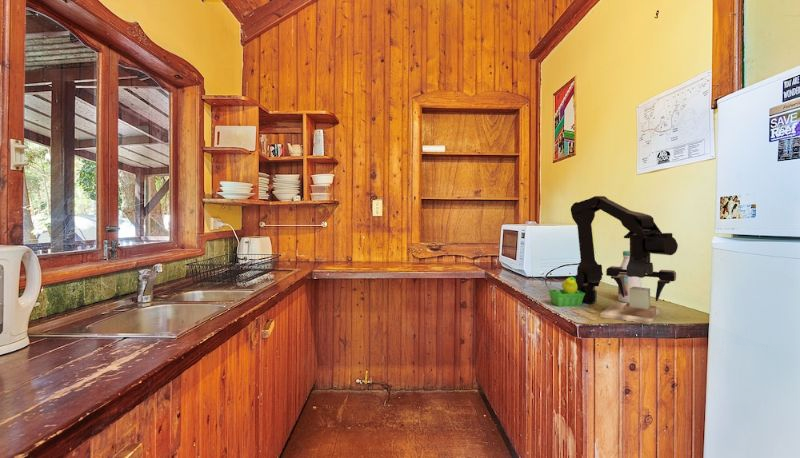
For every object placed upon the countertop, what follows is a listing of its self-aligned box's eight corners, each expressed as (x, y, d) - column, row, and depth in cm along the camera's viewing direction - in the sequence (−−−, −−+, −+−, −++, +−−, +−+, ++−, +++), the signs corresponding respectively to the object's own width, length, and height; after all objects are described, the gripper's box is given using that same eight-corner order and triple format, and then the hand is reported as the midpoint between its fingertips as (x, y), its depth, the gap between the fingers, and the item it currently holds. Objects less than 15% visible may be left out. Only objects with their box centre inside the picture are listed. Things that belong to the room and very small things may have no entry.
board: (599, 316, 119) (599, 313, 119) (615, 304, 135) (615, 301, 135) (650, 324, 109) (650, 321, 109) (660, 310, 125) (660, 307, 125)
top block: (629, 306, 118) (629, 288, 117) (632, 303, 121) (632, 286, 121) (647, 309, 114) (647, 290, 114) (650, 306, 118) (650, 288, 118)
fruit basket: (575, 301, 140) (575, 273, 140) (588, 307, 132) (588, 277, 131) (547, 302, 140) (547, 274, 139) (558, 308, 131) (558, 278, 131)
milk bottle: (639, 300, 141) (639, 250, 141) (643, 304, 134) (643, 252, 134) (616, 298, 144) (616, 250, 144) (619, 302, 137) (619, 251, 137)
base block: (623, 314, 118) (623, 306, 118) (628, 309, 123) (628, 302, 123) (652, 318, 112) (652, 310, 112) (656, 313, 118) (656, 306, 118)
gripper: (601, 252, 118) (602, 299, 118) (672, 256, 105) (671, 308, 105) (610, 250, 126) (610, 293, 126) (676, 253, 113) (676, 301, 113)
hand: (639, 299), depth 118 cm, fingers open, 9 cm apart
